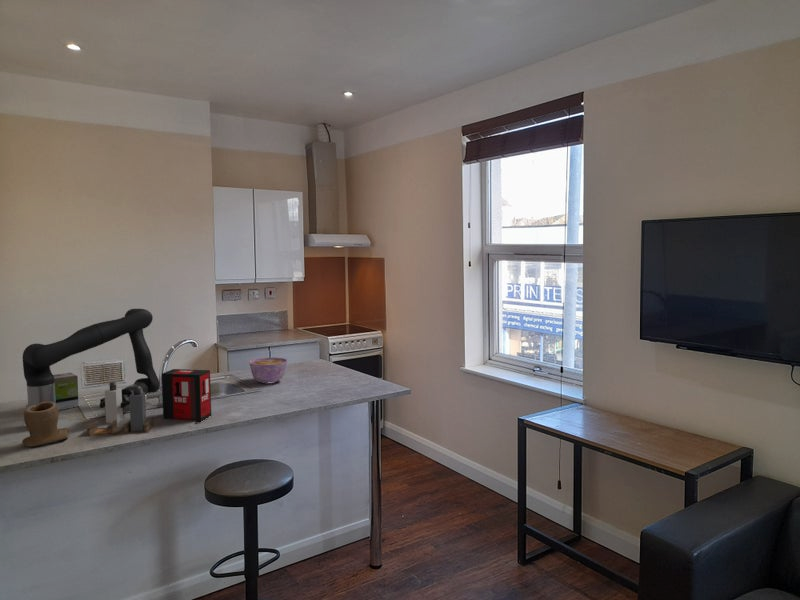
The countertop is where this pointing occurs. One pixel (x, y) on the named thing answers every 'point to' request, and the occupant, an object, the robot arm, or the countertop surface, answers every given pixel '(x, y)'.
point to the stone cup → (43, 424)
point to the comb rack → (116, 429)
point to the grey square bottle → (137, 410)
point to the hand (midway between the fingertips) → (111, 405)
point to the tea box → (66, 390)
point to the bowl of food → (268, 369)
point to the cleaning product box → (186, 394)
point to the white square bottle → (113, 403)
